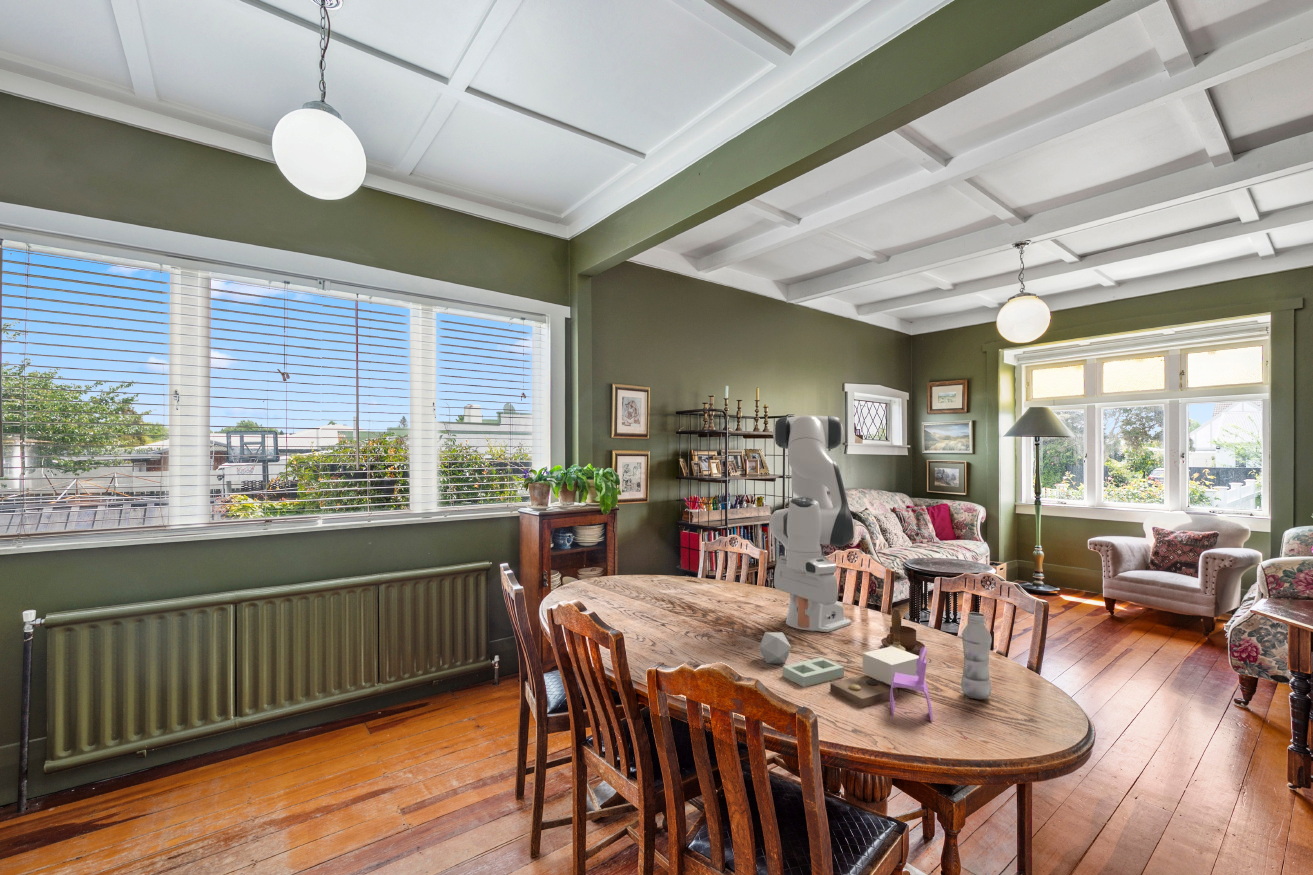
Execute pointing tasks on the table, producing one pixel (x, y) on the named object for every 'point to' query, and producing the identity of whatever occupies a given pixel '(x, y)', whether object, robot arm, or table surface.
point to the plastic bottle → (976, 658)
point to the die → (774, 647)
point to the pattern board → (862, 690)
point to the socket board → (813, 671)
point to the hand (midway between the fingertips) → (803, 614)
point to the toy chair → (913, 682)
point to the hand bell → (896, 629)
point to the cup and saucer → (904, 639)
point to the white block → (889, 663)
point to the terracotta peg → (803, 613)
